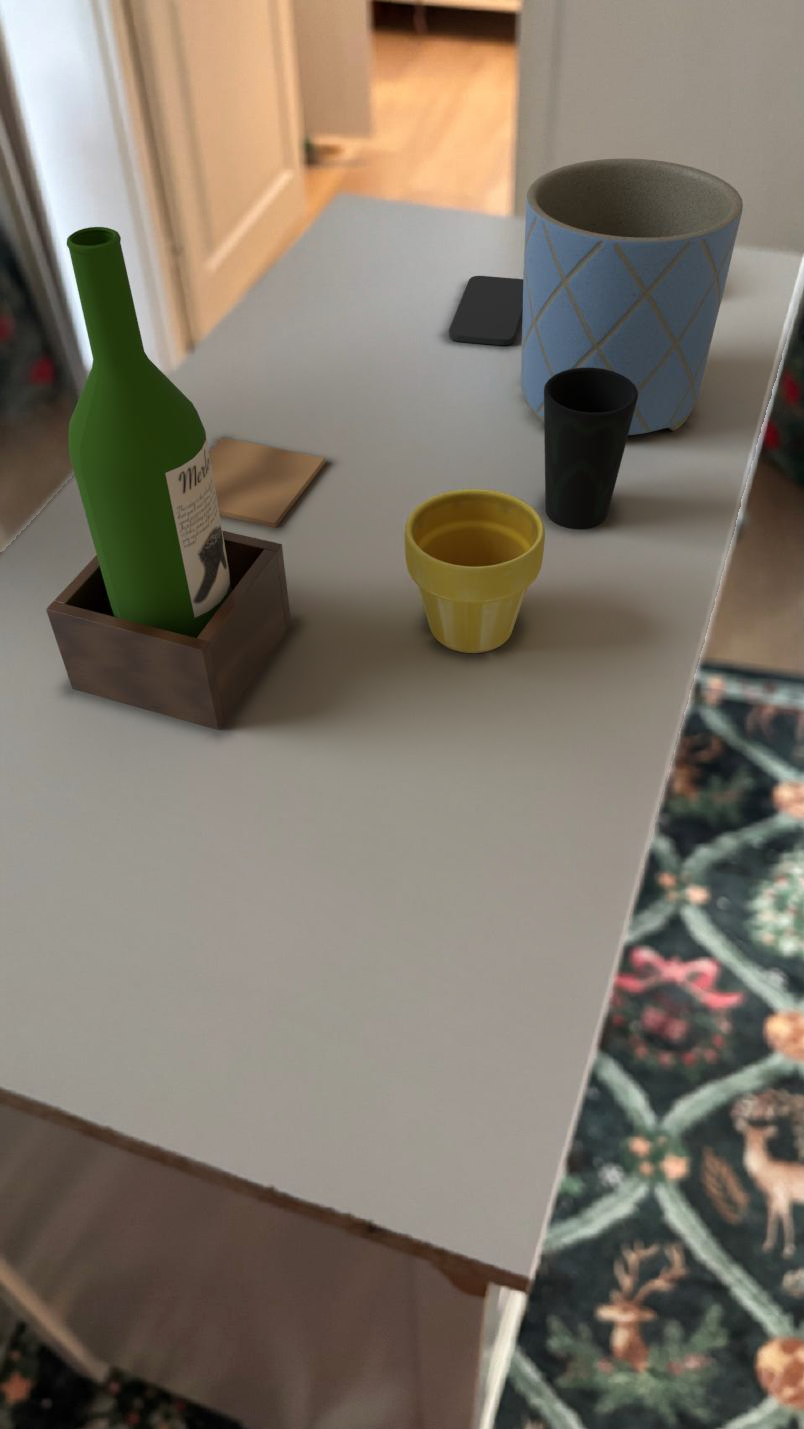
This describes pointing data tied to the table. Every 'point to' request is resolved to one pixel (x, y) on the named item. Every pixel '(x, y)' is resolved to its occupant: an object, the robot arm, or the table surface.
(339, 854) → the table surface
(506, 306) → the phone
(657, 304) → the planter
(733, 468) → the table surface
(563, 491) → the cup
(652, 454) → the table surface
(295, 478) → the cork mat
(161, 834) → the table surface
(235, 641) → the holder
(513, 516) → the flower pot
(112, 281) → the wine bottle
